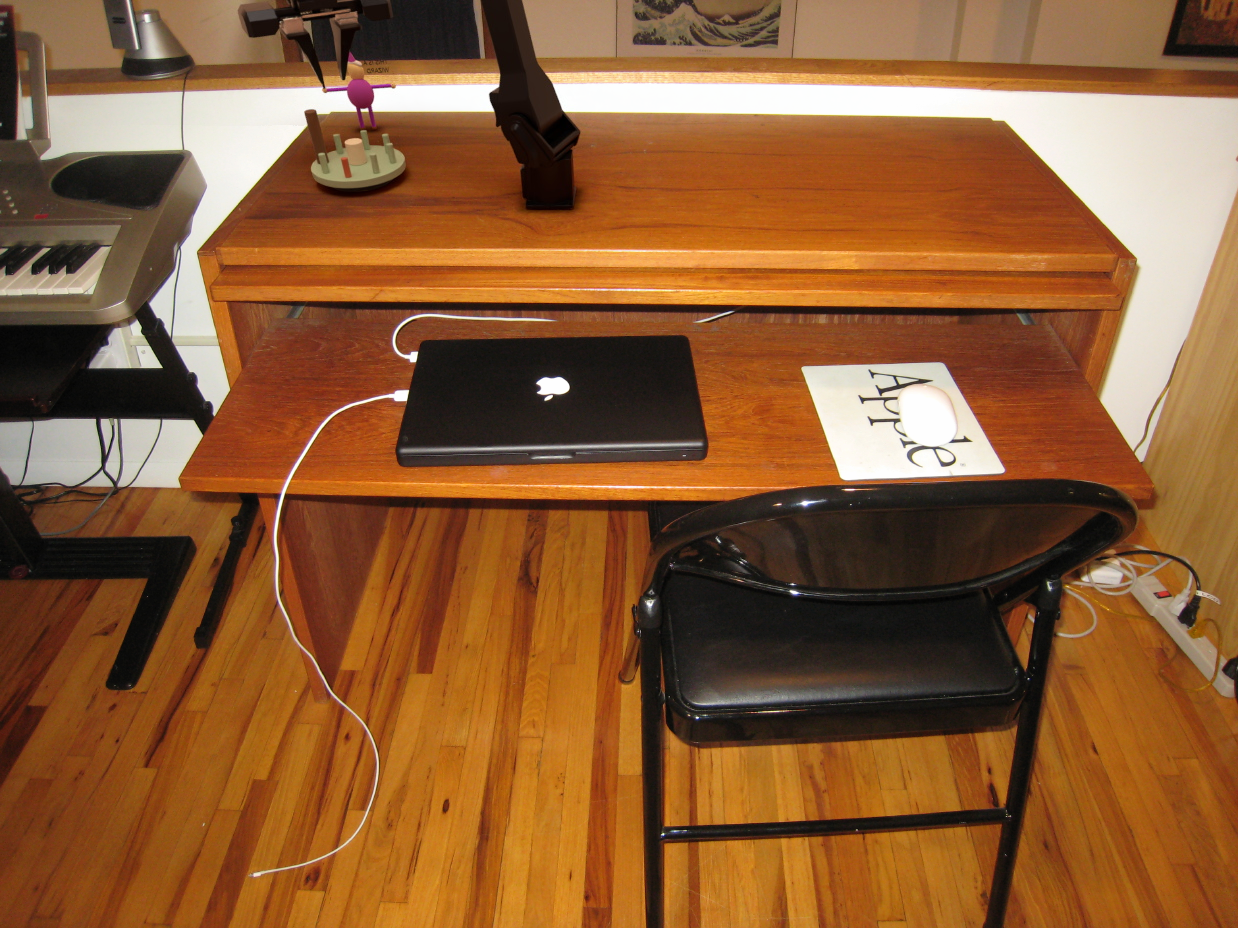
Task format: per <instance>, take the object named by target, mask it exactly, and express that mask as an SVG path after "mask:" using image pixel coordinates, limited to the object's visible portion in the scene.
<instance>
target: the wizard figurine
mask: <svg viewBox="0 0 1238 928" xmlns="http://www.w3.org/2000/svg"><path fill="white" fill-rule="evenodd" d="M374 60H375V65H377V66H378V65H381V63H383V64H388V63H387V61H388V58H383V59H374ZM373 64H374V61H373V59H368V63H367V62H366V59H365V60H364V61H363V62H361V61H359V60H356V59H355V57H354V56H353V54H352V52H351V51H350V53H349V59H348V66H347V72H348V75H349V77H350V79H351V80H350V81H349V82H348V84H347V86H341V87H326V85H325V83H324V84H321V86H322V89H321V91H322V93H324V94H327V93H335V92H336V93H337V92H346V94H347V98H348V100H349V102H350V104H351V105H353V107H355V109H356V114H357V115H356V116H357V119H358V124H359V129H360V131H362V130H366V129H367V128H366V125H365V122H364V118H363V114H362V110H366V109H367V111H368V116H369V120H370V124H371V127H370V128H371V129H372V130H374V131H376V130H377V128H378V127H377V125H376V119H375V115H374V110H373V103H374V102H375V101H374V100H375V92H374V91H375V90H377V89H396V87H397V84H396V83H395V82H390V83H382V84H370V82H369V81H367V80H366V79H365V70H364V67H363V65H366V66H368V65H369V66H373ZM377 68H378V69H377ZM378 70H379V71H378ZM383 72H384V73H386V72H387V73H389V67H385V68H384V67H375V69H374V67H372V68H367V69H366V73H367V74H372V73H374V74H376V73H379V74H380V73H383Z"/></svg>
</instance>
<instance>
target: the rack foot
mask: <svg viewBox="0 0 1238 928" xmlns="http://www.w3.org/2000/svg"><path fill="white" fill-rule="evenodd" d="M392 180H393V179H391V180H389V181H386V182H384V183H380V184H377V185H373V186H367V187H360V188H335V187H332V188H333V189H335V190H338V191H341V192H347V193H360V192H362V193H363V192H368V191H373V190H375V189H377V190H378V189H381V188H382V187H385V186H386V185H388V184H390V183H391V182H392Z"/></svg>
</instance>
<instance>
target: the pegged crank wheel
mask: <svg viewBox="0 0 1238 928" xmlns="http://www.w3.org/2000/svg"><path fill="white" fill-rule="evenodd" d="M303 113H304V117H305V121H306V125H307V129H308V132H309V137H310V139H311V144H312V148H313V151H314V155H315V160H314V161H313V162H312V164H311V165H310V166H311V167H310V171H311V174H312V178H313V179H314V180H315V182H316V183H318V184H320V185H323V186H326V187H330V188H333V187H335V188H360V187H367V186H373V185H377V184H380V183H384V182H386V181H389V180H391V179H392V180H394V179H395V178H397V177H398V176H400V175H401V174H403V172H404V171H405V170H406V167H407V162H406V158H405V155H404V154H403V152H401V151H400V150H398V149H396V148H394V144H393V143H392V142H391V140H390V137H389V133H383V134H381V137H382V142H383V145H375V144H374V145H370V141H369V135H368V131H367V130H366V129H365V130H360V138H358V137H353V138H348V139H346V140H345V141H344V146H345V147H343V143H342V139H341V134H340V133H334V134H332V137H333V141H334V145H335V150H333V151H330V152H327V147H326V143H325V139H324V135H323V133H322V132H323V131H322V128H321V124H320V119H319V115H318V112H317V110H316V109H315V108H310V109H306V110H304V112H303ZM335 188H334V189H335Z"/></svg>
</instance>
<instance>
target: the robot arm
mask: <svg viewBox="0 0 1238 928" xmlns="http://www.w3.org/2000/svg"><path fill="white" fill-rule="evenodd" d="M285 1H286V4H287V5H290V6H283V7H277V8H274V7H273V6H272V5H271V3H270V2H269V1H267V0H266V1H258V2H250V3H249V2H248V3H243V4H239V6H238V9H237V15H238V19H239V21H240V22H239V23H240V26H241V28H242V30H243V31H244V33H245V34H246V35H247V36H248V38H251V39H256V38H262V37H264V38H265V37H269V36H276V34H277V33H278V31H279V33H281V35H282V36H283V37H284V38H285V39H286V40H287V41H294V42H295V43H296V45H297V46H298V47H299V49H300V50H301V52H302V53H303V55H304V57H305V58H306V60H307V62H308V64H309V66H310V67H311V69H312V72H314V74H315V77H316V78H317V80H318V81H319V83H320V84H321V85H322V84H325V80H324V75H323V70H322V67H321V64H320V61H319V58H318V55H317V52H316V49H315V46H314V42H313V39H312V37H311V34H310V32H309V31H308V30H307V29H306V28H305V27H304V26H305V22H312V21H318V20H326V19H329V23H330V27H331V32H332V34H333V35H332V36H333V43H334V49H335V50H334V51H335V56H336V64H337V69H338V74H339V77H340V79H341V80H342V81H346V79H347V72H348V70H347V66H348V59H349V53H350V52H351V48H352V45H353V41H354V37H355V34H356V32H358V31H361V30H362V24H361V23H359V21H358V19H359V15H363V16H364V17H366V19H368V20H370V22H378V21H383V20H384V21H385V20H391V19H394V13H393V7H392V3H391V0H285ZM480 4H481V7H482V11H483V15H484V18H485V22H486V26H487V30H488V33H489V37H490V41H491V44H492V45H491V46H492V48H493V52H494V56H495V59H496V63H497V66H498V70H499V71H498V72H499V83H498V87H496V88H495V89H493V90H492V91H490V92H489V93H488V98H489V102H490V105H491V108H492V109H493V112H494V116H495V127H496V128H499V127H500V130H501V132H502V135H503V137H504V139H505V140H506V141H507V142H509V144H510V146H511V149H512V151H513V154H514V156H515V158H516V161H517V163H518V164H520V165H521V166H520V168H519V171H520V172H519V173H520V182H521V184H520V185H521V193H522V198H523V200H525V203H524V208H525V209H527V210H529V209H530V210H532V209H533V210H535V209H536V210H540V209H542V210H544V209H545V210H547V209H549V210H551V209H557V210H565V209H566V210H569V209H574V207H575V202H576V195H577V186H576V185H575V170H574V169H575V168H574V152H573V151H574V150H573V148H574V147H577V145H578V142H579V140H580V136H581V130H580V129H579V127H578V126H577V125H576V123H575V122H574V121H573V120H572V119H571V117H569V115H568V114H567V113H566V112H565V111H564V109H563V108H562V104H561V102H560V99H559V97H558V94H557V92H556V89H555V86H554V84H553V81H552V80H551V79H550V77H549V76H548V75H547V73H546V72H545V71H544V70H543V68H542V66H541V65H540V64H539V61H538V59H537V56H536V52H535V48H534V44H533V39H532V35H531V31H530V26H529V23H528V18H527V14H526V11H525V6H524V1H523V0H480Z"/></svg>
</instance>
